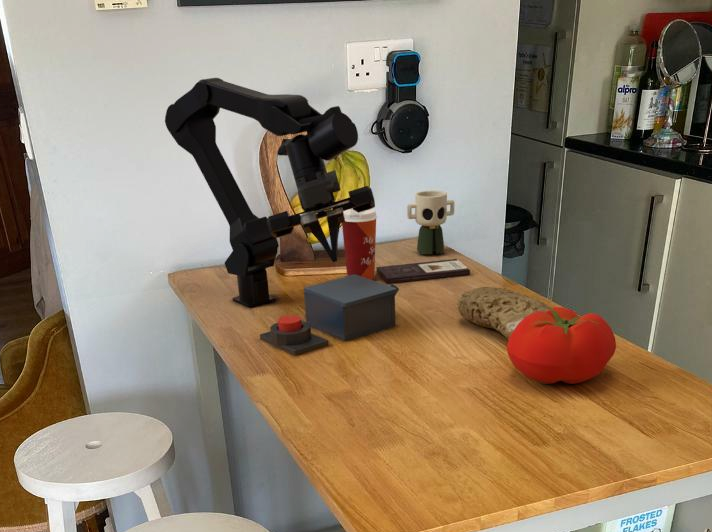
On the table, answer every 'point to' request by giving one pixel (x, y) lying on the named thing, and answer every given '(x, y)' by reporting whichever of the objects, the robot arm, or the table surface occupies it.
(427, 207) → the character mug
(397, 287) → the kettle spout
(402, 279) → the chocolate bar
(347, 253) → the paper cup
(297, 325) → the red button
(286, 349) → the push button switch
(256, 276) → the robot arm
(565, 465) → the table surface
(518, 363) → the tomato
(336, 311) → the storage box
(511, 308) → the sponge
